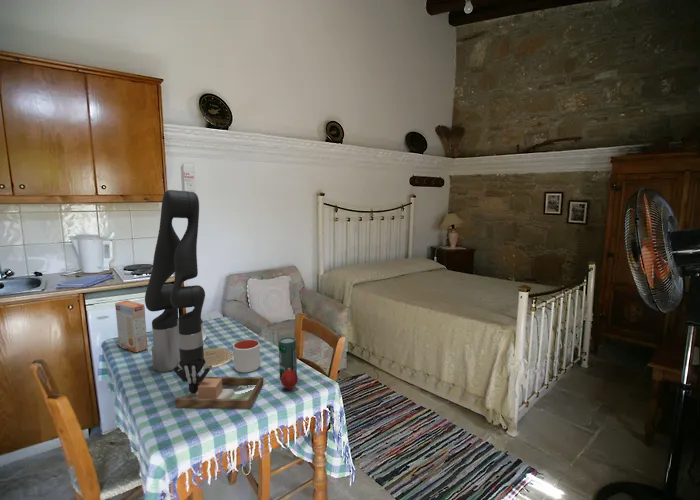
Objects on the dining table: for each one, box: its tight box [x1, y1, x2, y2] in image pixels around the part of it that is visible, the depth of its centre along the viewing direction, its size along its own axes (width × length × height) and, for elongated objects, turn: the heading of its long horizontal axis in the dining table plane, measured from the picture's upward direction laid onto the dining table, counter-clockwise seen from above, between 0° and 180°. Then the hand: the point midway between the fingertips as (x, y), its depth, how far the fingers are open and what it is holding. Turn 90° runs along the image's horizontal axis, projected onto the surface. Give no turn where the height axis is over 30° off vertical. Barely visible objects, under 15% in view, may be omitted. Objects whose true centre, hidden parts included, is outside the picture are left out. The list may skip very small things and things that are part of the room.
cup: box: [232, 339, 261, 374], centre depth 152 cm, size 10×10×10 cm
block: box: [198, 378, 222, 399], centre depth 132 cm, size 6×6×4 cm
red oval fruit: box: [280, 368, 299, 391], centre depth 136 cm, size 6×6×8 cm
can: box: [278, 336, 298, 382], centre depth 143 cm, size 6×6×15 cm
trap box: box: [174, 376, 264, 410], centre depth 131 cm, size 24×16×3 cm, turn 88°
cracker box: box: [114, 299, 149, 353], centre depth 172 cm, size 14×6×21 cm, turn 58°
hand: (194, 392), depth 132 cm, fingers closed
